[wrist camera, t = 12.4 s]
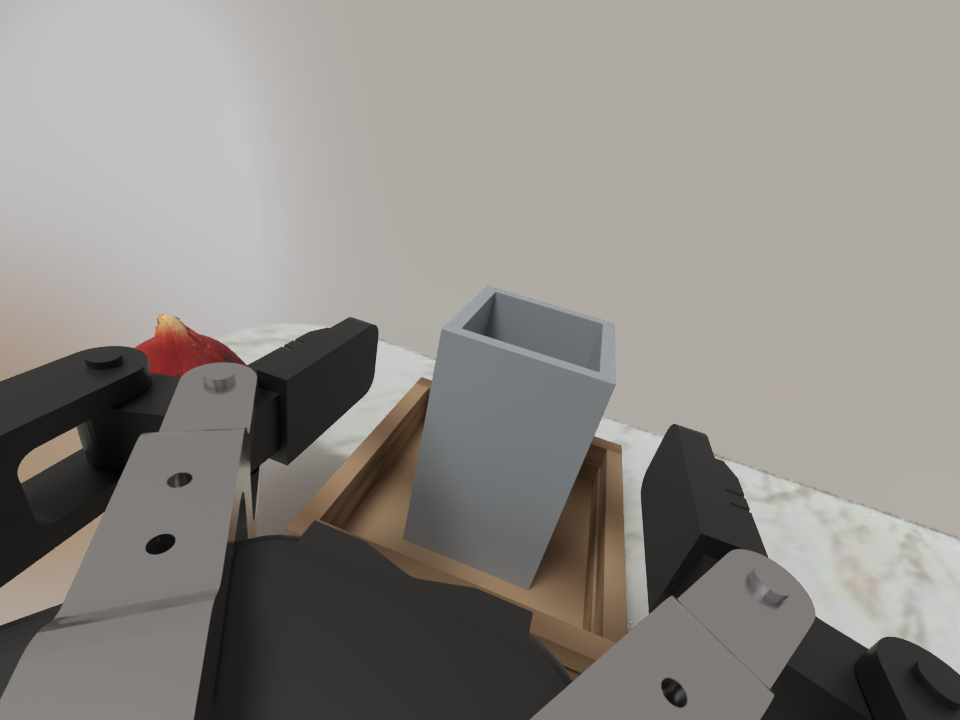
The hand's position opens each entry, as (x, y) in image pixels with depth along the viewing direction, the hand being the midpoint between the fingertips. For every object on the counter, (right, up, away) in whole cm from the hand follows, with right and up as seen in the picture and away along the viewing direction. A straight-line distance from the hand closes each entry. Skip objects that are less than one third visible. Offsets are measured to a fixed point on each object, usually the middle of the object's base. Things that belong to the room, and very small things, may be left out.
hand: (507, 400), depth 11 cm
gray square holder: (-1, -6, +9) cm, 11 cm away
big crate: (-1, -7, +9) cm, 12 cm away
